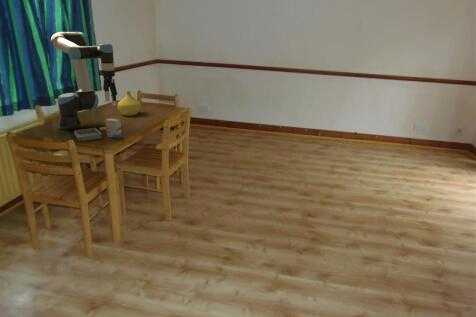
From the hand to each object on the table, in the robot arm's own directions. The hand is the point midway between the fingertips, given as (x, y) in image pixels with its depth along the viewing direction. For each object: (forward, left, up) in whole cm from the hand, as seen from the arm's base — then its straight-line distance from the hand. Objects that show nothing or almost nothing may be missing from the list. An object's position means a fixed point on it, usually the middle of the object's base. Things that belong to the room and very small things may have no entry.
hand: (111, 103), depth 236 cm
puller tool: (-20, +1, -23) cm, 30 cm away
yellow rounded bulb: (-54, +30, -23) cm, 66 cm away
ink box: (-1, +1, -23) cm, 23 cm away
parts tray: (-9, -14, -23) cm, 28 cm away
